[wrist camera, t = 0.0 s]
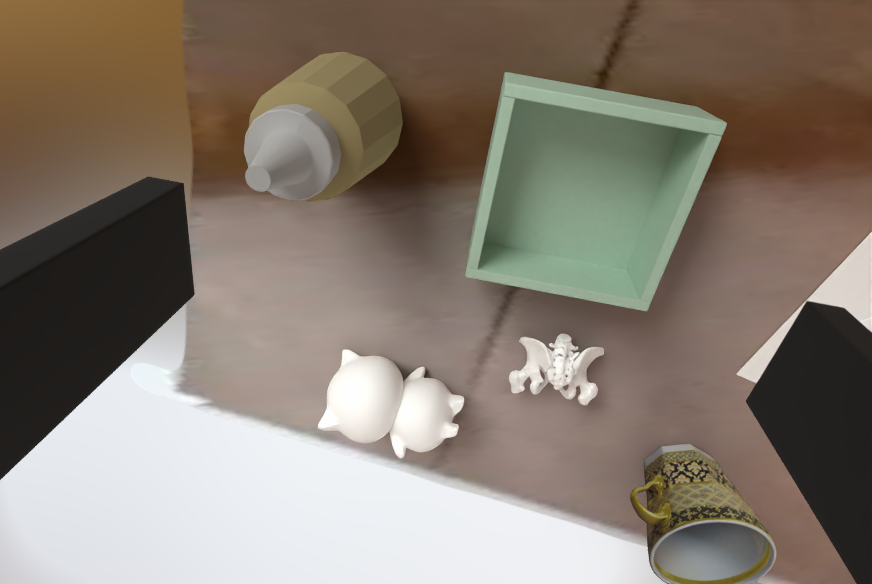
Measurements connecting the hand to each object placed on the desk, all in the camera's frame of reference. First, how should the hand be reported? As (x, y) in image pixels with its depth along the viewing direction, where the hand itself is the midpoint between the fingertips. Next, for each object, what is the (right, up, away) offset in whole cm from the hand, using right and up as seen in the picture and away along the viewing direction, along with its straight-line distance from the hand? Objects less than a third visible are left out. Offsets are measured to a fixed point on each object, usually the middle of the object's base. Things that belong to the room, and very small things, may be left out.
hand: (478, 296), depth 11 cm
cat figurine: (-5, -9, +40) cm, 41 cm away
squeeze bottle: (-7, +14, +27) cm, 31 cm away
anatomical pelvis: (+10, -6, +36) cm, 38 cm away
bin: (+10, +8, +28) cm, 31 cm away
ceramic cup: (+22, -17, +41) cm, 50 cm away
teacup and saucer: (+39, -3, +31) cm, 50 cm away
